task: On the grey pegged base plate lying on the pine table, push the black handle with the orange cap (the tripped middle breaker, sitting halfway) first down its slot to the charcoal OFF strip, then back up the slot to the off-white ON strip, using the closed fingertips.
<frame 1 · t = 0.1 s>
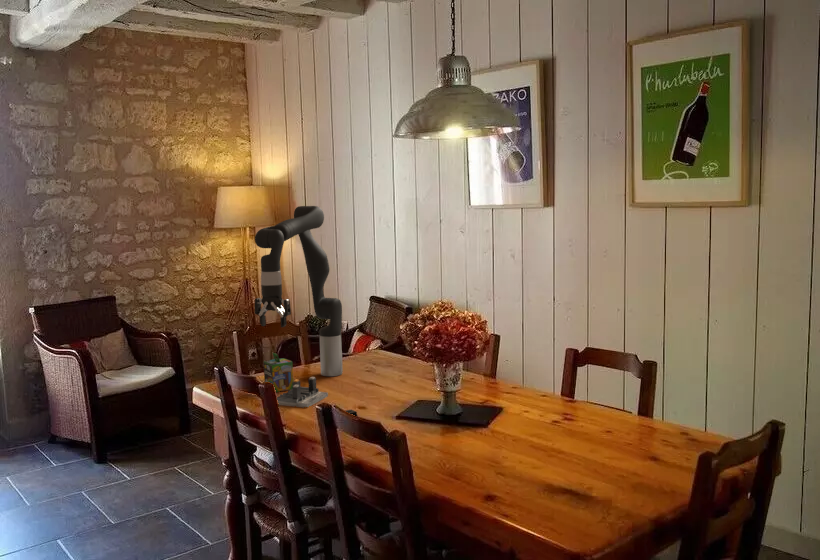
hand: (273, 326, 277), 29 cm above the table, fingers open, 8 cm apart
chalk box: (279, 389, 299), on the table
build plate: (350, 424, 254), on the table
grey pegged base plate: (300, 400, 283), on the table
tripped breaker: (296, 387, 282), point 5 cm above the table, slide at 3.5 cm
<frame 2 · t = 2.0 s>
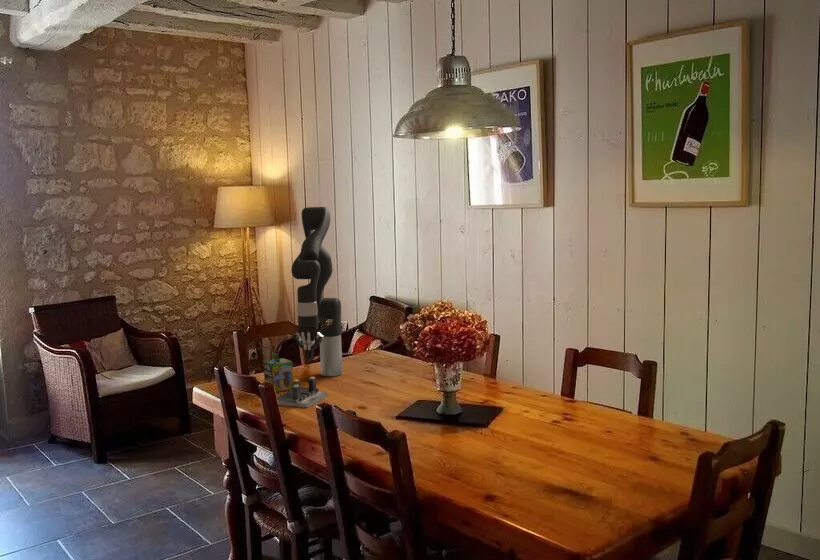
hand: (309, 359, 279), 16 cm above the table, fingers closed
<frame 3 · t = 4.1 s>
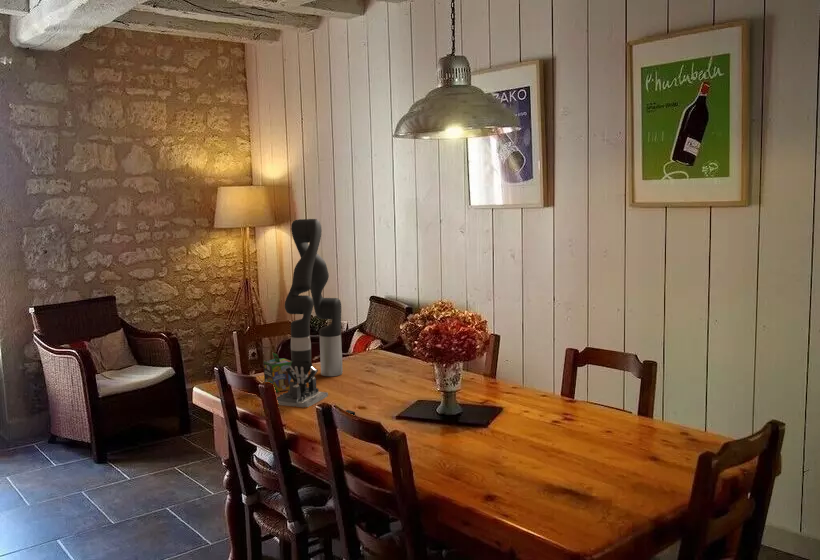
hand: (302, 392, 282), 3 cm above the table, fingers closed
tripped breaker: (293, 387, 283), point 5 cm above the table, slide at 2.2 cm, touching gripper, hand
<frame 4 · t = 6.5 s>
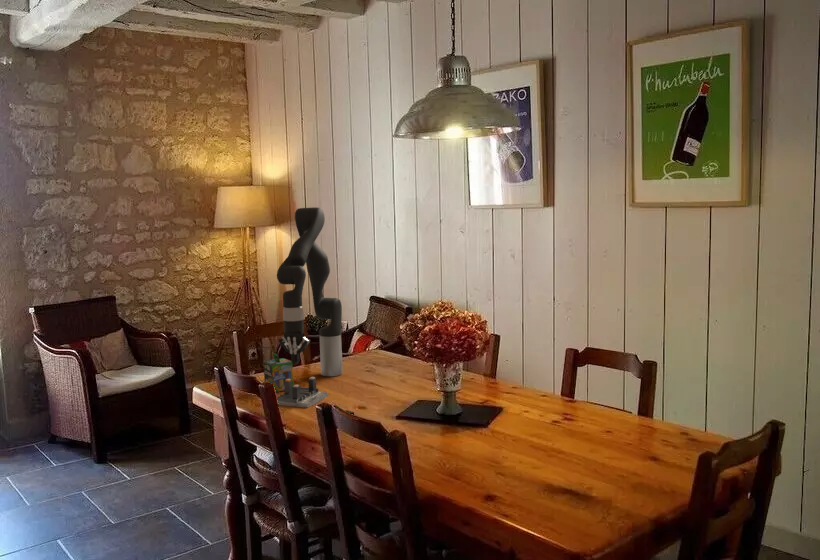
hand: (295, 363, 282), 14 cm above the table, fingers closed
tripped breaker: (288, 387, 284), point 5 cm above the table, slide at 0.0 cm
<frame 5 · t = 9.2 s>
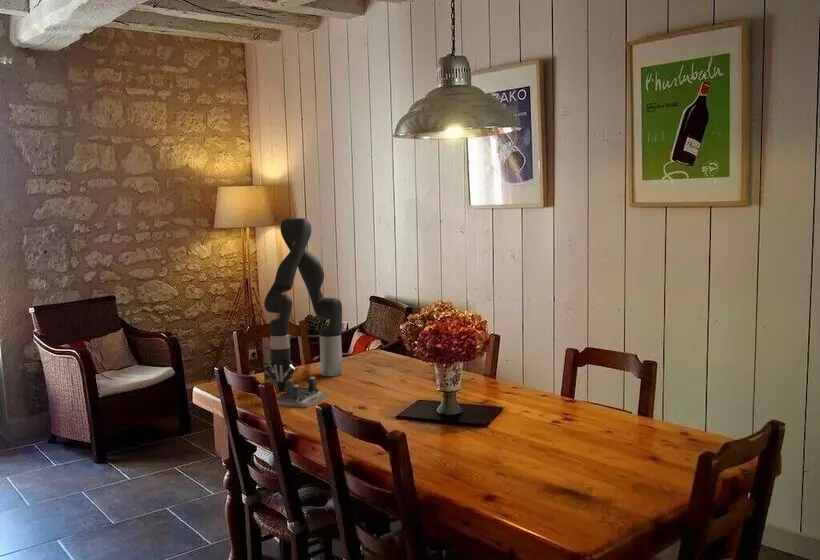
hand: (281, 390, 285), 3 cm above the table, fingers closed
tripped breaker: (290, 387, 283), point 5 cm above the table, slide at 0.9 cm, touching gripper
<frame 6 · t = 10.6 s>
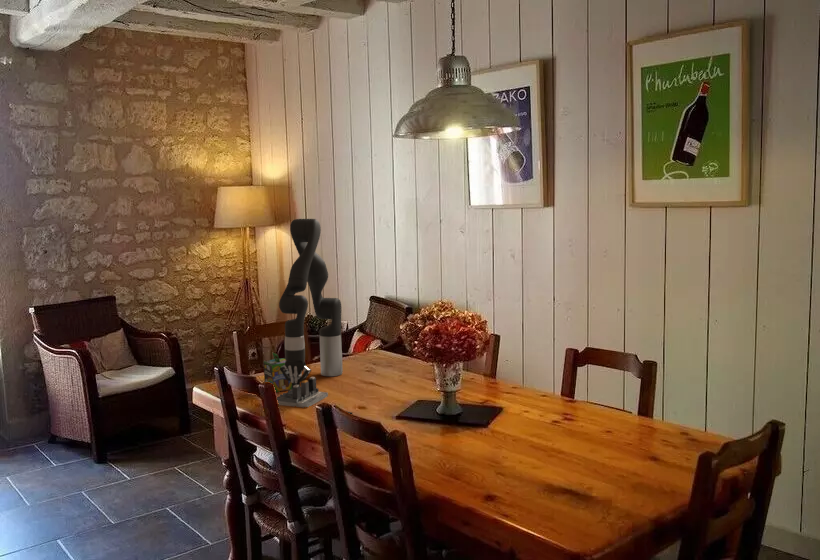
hand: (296, 391, 283), 3 cm above the table, fingers closed
tripped breaker: (304, 388, 281), point 5 cm above the table, slide at 7.2 cm, touching gripper
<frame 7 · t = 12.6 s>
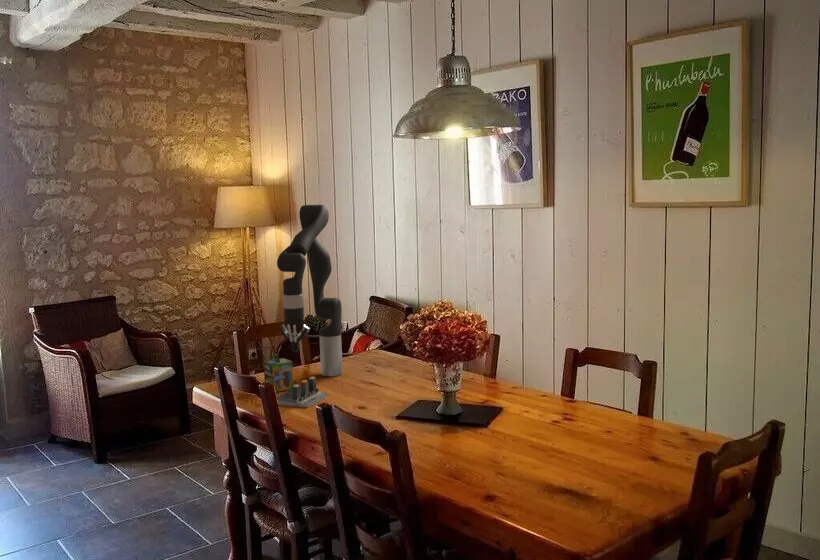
hand: (295, 351, 281), 19 cm above the table, fingers closed
tripped breaker: (304, 388, 281), point 5 cm above the table, slide at 7.0 cm
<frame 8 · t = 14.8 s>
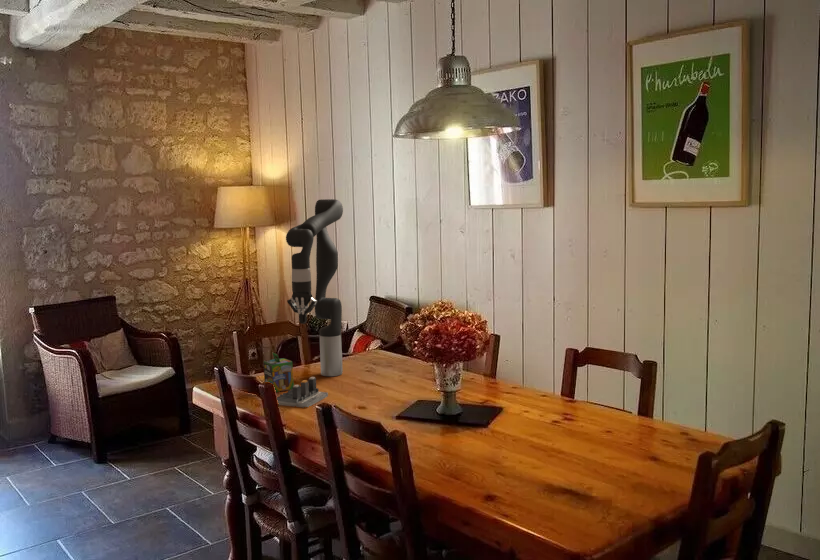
hand: (303, 323, 294), 27 cm above the table, fingers closed
at the end: tripped breaker slide at 7.0 cm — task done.
